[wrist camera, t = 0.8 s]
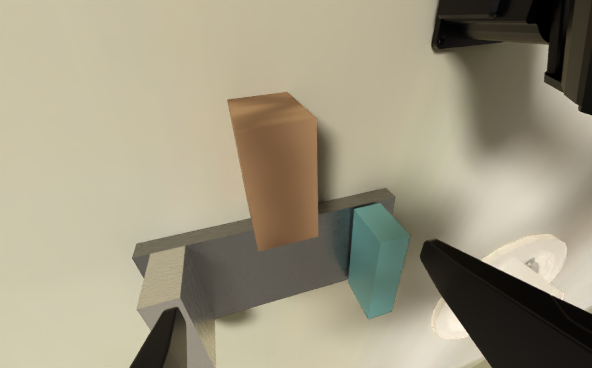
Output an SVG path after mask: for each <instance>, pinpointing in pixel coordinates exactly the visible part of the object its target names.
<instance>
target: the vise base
mask: <svg viewBox="0 0 592 368" xmlns="http://www.w3.org/2000/svg"><path fill="white" fill-rule="evenodd" d="M394 201H395V196H394V195H393V194H392V193H391V192H390V191H389V190H388V189H386V188H384V189H380V190H376V191H371V192H367V193H362V194H358V195H353V196H349V197H344V198H340V199H335V200H331V201H326V202H322V203H318V237H315V238H311V239H307V240H303V241H299V242H295V243H291V244H287V245H283V246H279V247H275V248H271V249H267V250H263V251H259V252H258V247H257V243H256V238H255V234H254V229H253V225H252V220H251V218H250V219H246V220H242V221H237V222H233V223H228V224H224V225H219V226H215V227H210V228H206V229H201V230H197V231H192V232H188V233H183V234H179V235H174V236H170V237H166V238H161V239H157V240H152V241H148V242H143V243H139V244H136V247H135V251H134V254H133V257H132V259H133V261H134V262H135V264H136V266H137V267H138V269H139V271H140V273H141V274H142V276H143V278H144V281H143V285H142V289H141V294H140V298H139V302H138V306H137V311H138V312H139V314H140V315H141V317H142V318H143V320H144V321H145V323H146V324H147V326H148V327H149V329H150V330H152V329H153V327H154V325H155V324H156V322H157V320H158V318H159V317H160V315H161V313H162V312H163V311H164V310H165V309H168V308H172V307H178V308H179V309H180V311H181V313H182V315H183V317H184V319H185V321H186V329H187V368H216V353H215V318H218V317H222V316H225V315H228V314H232V313H235V312H239V311H242V310H245V309H249V308H252V307H256V306H259V305H263V304H266V303H269V302H273V301H276V300H280V299H283V298H286V297H290V296H293V295H297V294H300V293H303V292H307V291H310V290H314V289H317V288H320V287H324V286H327V285H331V284H334V283H337V282H341V281H344V280H348V279H349V267H350V255H351V243H352V231H353V219H354V209H357V208H361V207H365V206H370V205H374V204H378V203H381V204H382V206H383V207H384V208H385V209H386V210H387V211H388V212H389V213H390V214H391V215H392V212H393V207H394Z"/></svg>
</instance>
